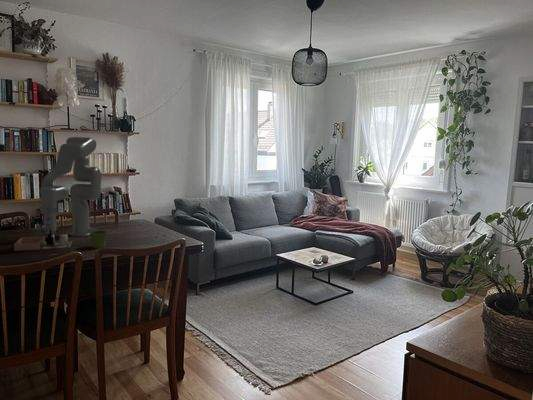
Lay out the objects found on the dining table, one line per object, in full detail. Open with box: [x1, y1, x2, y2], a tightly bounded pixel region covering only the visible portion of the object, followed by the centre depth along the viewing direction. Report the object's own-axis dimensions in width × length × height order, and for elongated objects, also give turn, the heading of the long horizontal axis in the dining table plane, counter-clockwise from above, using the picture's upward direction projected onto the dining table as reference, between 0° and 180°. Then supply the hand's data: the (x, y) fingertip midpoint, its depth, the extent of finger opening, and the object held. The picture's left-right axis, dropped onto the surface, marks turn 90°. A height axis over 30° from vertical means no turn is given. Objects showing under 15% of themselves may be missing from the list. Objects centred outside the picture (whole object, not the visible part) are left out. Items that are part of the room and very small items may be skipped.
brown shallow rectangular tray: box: [13, 236, 46, 252], centre depth 216 cm, size 12×16×4 cm
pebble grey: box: [59, 233, 69, 246], centre depth 221 cm, size 4×4×6 cm
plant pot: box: [89, 230, 108, 249], centre depth 221 cm, size 9×9×9 cm
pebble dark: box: [47, 233, 56, 246], centre depth 219 cm, size 4×4×6 cm
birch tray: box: [40, 240, 73, 250], centre depth 221 cm, size 14×14×1 cm
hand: (50, 243), depth 220 cm, fingers closed on pebble dark, 4 cm apart
